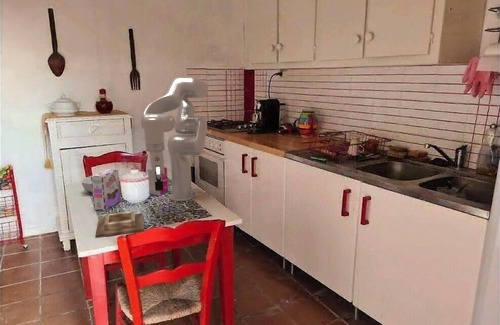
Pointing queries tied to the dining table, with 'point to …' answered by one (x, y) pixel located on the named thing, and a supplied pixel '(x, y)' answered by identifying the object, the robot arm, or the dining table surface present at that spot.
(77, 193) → the dining table surface
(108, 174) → the candy box
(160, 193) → the supplement box
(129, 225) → the walnut stand
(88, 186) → the cereal bowl
